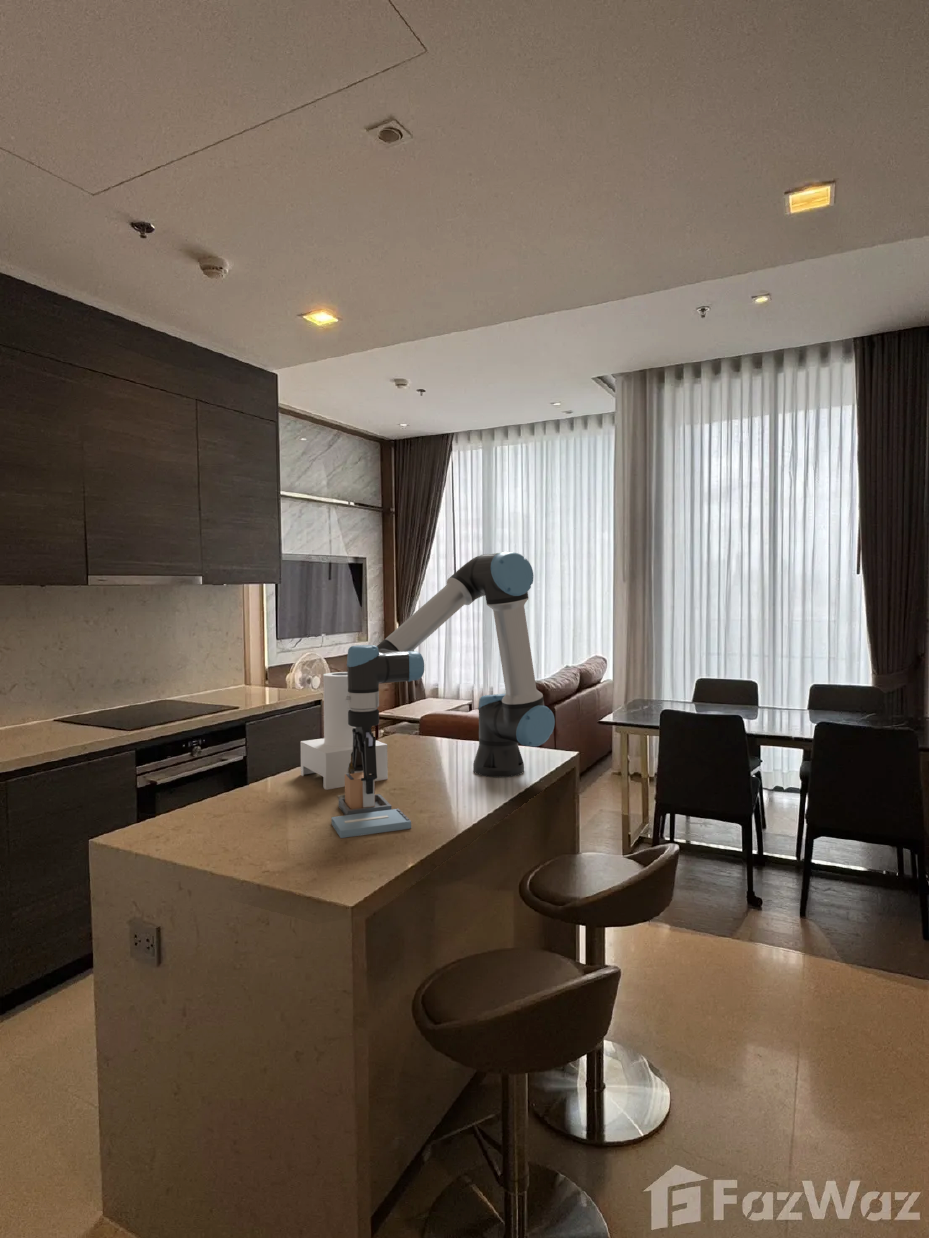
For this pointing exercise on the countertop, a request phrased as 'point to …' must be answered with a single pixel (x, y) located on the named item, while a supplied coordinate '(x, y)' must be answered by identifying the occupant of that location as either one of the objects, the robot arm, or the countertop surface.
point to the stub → (354, 790)
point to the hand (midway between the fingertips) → (364, 801)
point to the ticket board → (370, 823)
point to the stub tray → (379, 806)
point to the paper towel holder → (336, 738)
